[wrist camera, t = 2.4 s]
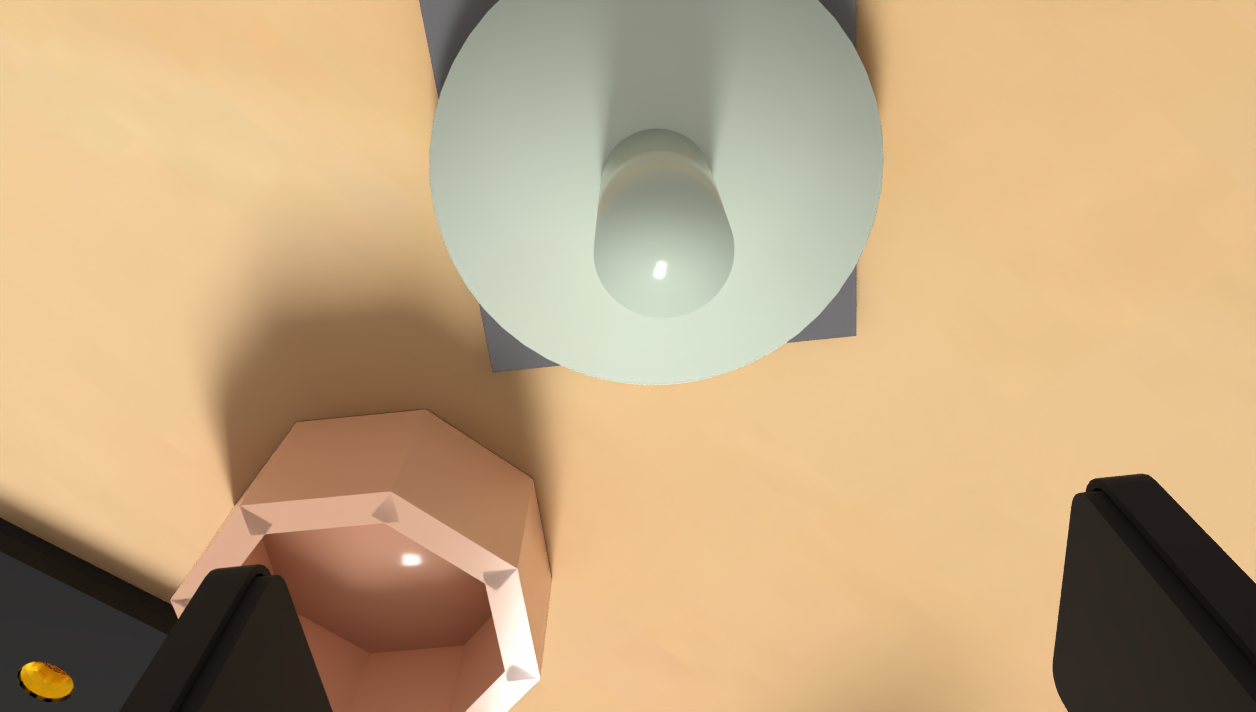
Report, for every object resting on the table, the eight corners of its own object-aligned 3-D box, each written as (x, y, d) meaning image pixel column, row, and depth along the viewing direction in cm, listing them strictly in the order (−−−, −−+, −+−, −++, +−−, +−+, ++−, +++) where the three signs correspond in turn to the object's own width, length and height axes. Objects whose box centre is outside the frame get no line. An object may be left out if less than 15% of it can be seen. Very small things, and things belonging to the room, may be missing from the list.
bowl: (518, 400, 31) (499, 481, 26) (563, 643, 35) (554, 748, 31) (205, 430, 31) (134, 515, 27) (292, 667, 36) (243, 772, 31)
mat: (851, -71, 24) (856, -71, 24) (851, 328, 29) (856, 335, 29) (420, -18, 25) (416, -18, 24) (495, 364, 30) (492, 372, 29)
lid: (875, -94, 24) (969, -104, 17) (871, 347, 29) (941, 467, 23) (393, -35, 24) (308, -22, 18) (480, 386, 30) (439, 514, 23)
